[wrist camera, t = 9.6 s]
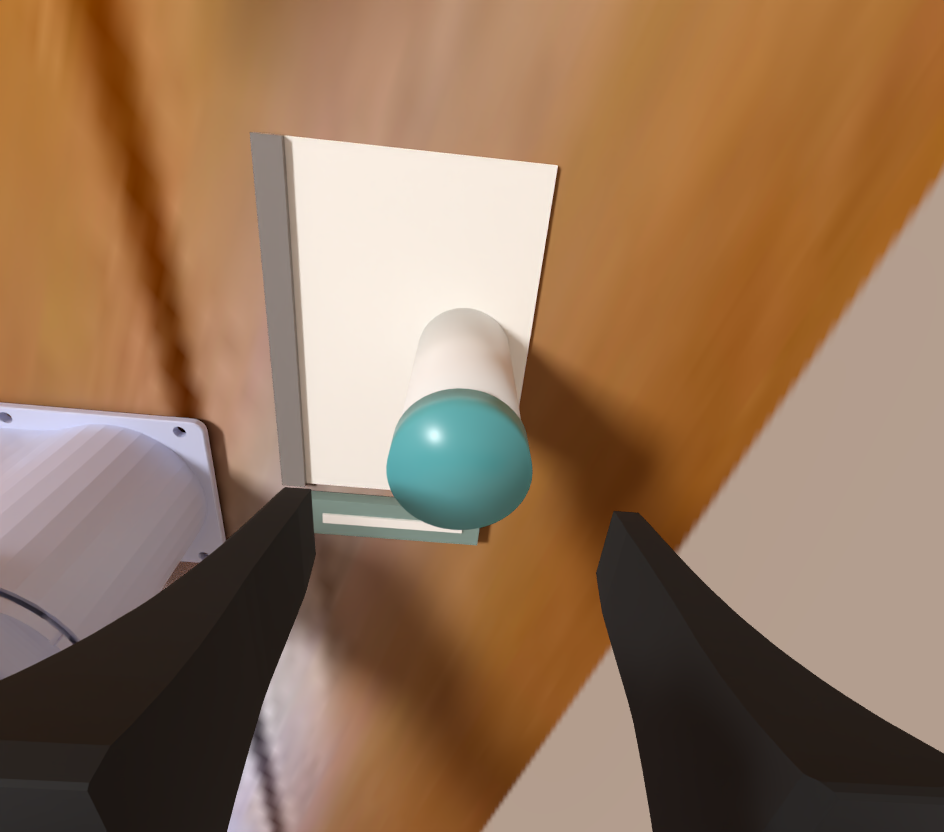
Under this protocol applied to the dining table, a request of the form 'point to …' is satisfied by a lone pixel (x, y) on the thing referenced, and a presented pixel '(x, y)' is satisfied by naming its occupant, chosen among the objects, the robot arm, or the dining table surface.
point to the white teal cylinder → (460, 427)
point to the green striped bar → (377, 519)
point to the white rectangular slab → (382, 282)
